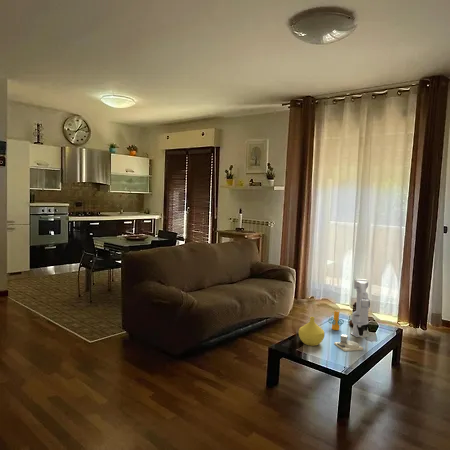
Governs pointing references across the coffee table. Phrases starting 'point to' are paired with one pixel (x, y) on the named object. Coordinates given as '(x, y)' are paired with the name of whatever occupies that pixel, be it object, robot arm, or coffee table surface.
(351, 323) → the scroll
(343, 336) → the block
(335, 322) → the orange toy figure
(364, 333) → the block
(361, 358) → the coffee table surface
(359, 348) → the scale
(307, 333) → the vase
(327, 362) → the coffee table surface
